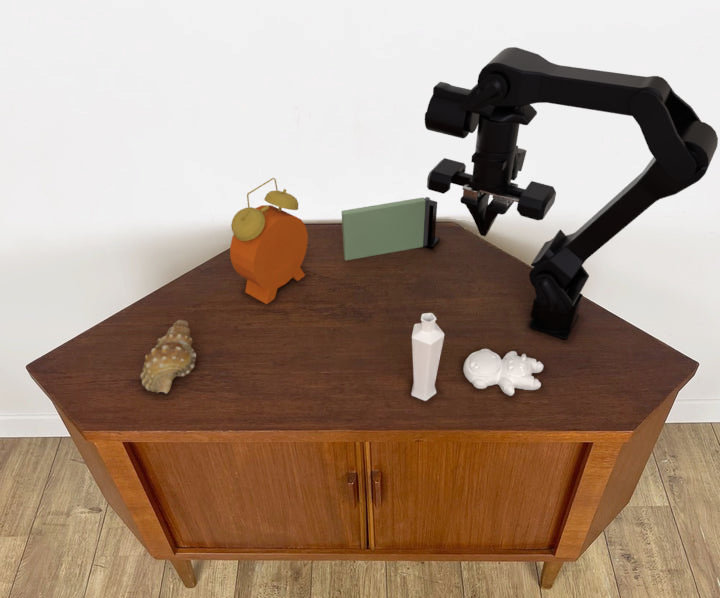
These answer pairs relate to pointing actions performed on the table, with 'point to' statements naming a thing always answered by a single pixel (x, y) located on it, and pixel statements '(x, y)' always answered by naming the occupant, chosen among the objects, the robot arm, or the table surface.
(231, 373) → the table surface
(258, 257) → the alarm clock
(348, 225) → the green flat slab
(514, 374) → the astronaut figurine
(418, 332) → the perfume bottle
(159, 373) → the seashell
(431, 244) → the door post
